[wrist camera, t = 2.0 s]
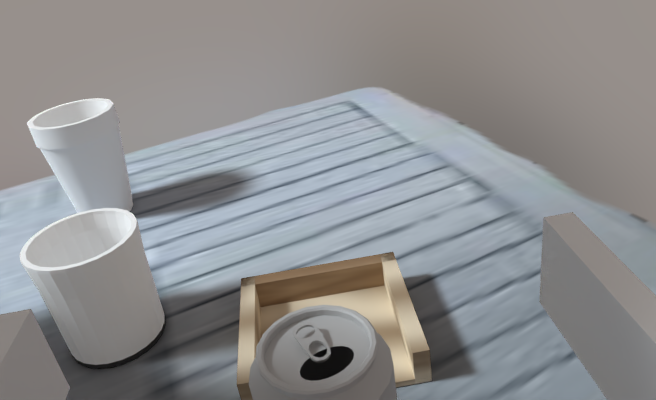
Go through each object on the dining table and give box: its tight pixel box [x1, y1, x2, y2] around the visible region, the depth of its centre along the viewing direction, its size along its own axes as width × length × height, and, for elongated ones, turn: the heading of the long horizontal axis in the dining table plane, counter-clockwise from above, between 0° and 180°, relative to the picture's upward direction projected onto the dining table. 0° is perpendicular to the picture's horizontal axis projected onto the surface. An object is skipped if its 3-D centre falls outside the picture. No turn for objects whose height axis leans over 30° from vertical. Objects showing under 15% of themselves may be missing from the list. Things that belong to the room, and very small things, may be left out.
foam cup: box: [27, 98, 133, 213], centre depth 68 cm, size 10×9×13 cm
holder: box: [237, 252, 432, 400], centre depth 45 cm, size 12×13×3 cm
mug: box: [20, 208, 165, 369], centre depth 48 cm, size 11×9×10 cm
